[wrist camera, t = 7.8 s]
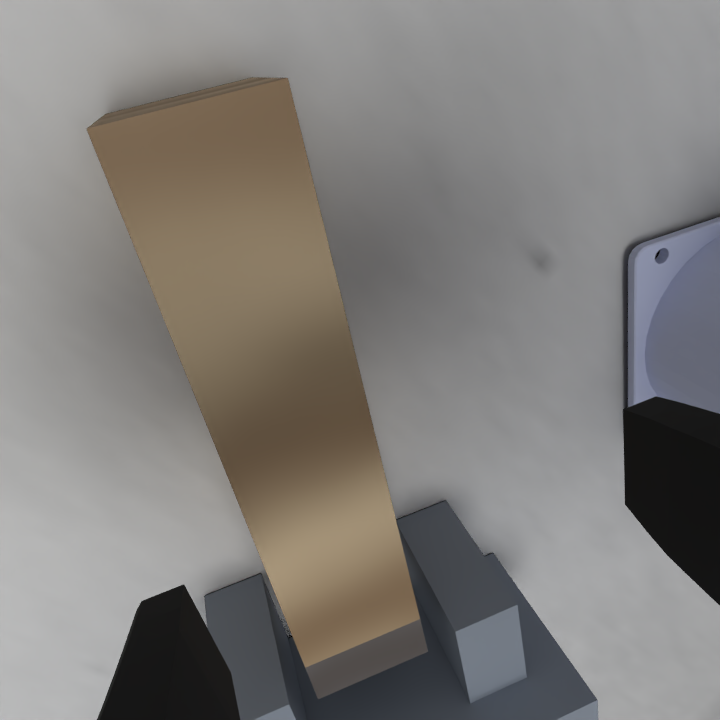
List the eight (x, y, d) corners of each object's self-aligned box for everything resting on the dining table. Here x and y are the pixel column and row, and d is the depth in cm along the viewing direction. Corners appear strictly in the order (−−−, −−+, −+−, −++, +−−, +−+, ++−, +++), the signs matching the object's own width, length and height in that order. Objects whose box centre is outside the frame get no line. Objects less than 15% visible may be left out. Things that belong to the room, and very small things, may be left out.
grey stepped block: (483, 486, 22) (594, 624, 17) (498, 587, 25) (598, 736, 19) (160, 613, 20) (162, 820, 15) (213, 708, 23) (233, 916, 17)
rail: (105, 114, 14) (86, 128, 10) (252, 77, 14) (287, 78, 11) (288, 586, 21) (318, 699, 18) (380, 549, 22) (428, 651, 18)
